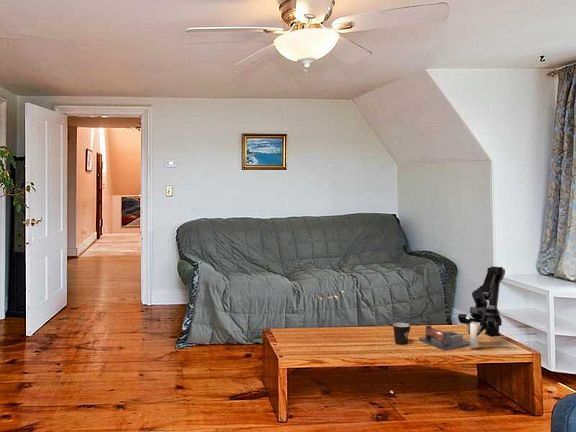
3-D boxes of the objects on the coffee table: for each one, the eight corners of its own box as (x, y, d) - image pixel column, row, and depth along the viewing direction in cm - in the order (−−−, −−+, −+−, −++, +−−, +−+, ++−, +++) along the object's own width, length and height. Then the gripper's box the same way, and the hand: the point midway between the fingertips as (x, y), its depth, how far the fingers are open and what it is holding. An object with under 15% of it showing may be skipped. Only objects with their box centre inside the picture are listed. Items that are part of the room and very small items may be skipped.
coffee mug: (397, 346, 276) (397, 327, 276) (390, 341, 284) (390, 323, 284) (417, 344, 279) (417, 325, 279) (409, 339, 287) (409, 322, 287)
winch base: (446, 336, 295) (446, 321, 294) (473, 345, 277) (473, 329, 276) (418, 340, 286) (419, 325, 285) (444, 350, 268) (445, 334, 267)
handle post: (471, 344, 273) (471, 322, 272) (478, 346, 271) (479, 323, 270) (468, 346, 270) (469, 323, 269) (476, 348, 267) (476, 325, 267)
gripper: (459, 298, 278) (451, 323, 270) (495, 303, 266) (488, 329, 258) (464, 310, 284) (456, 334, 276) (499, 315, 273) (492, 340, 265)
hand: (473, 334), depth 269 cm, fingers closed on handle post, 4 cm apart
